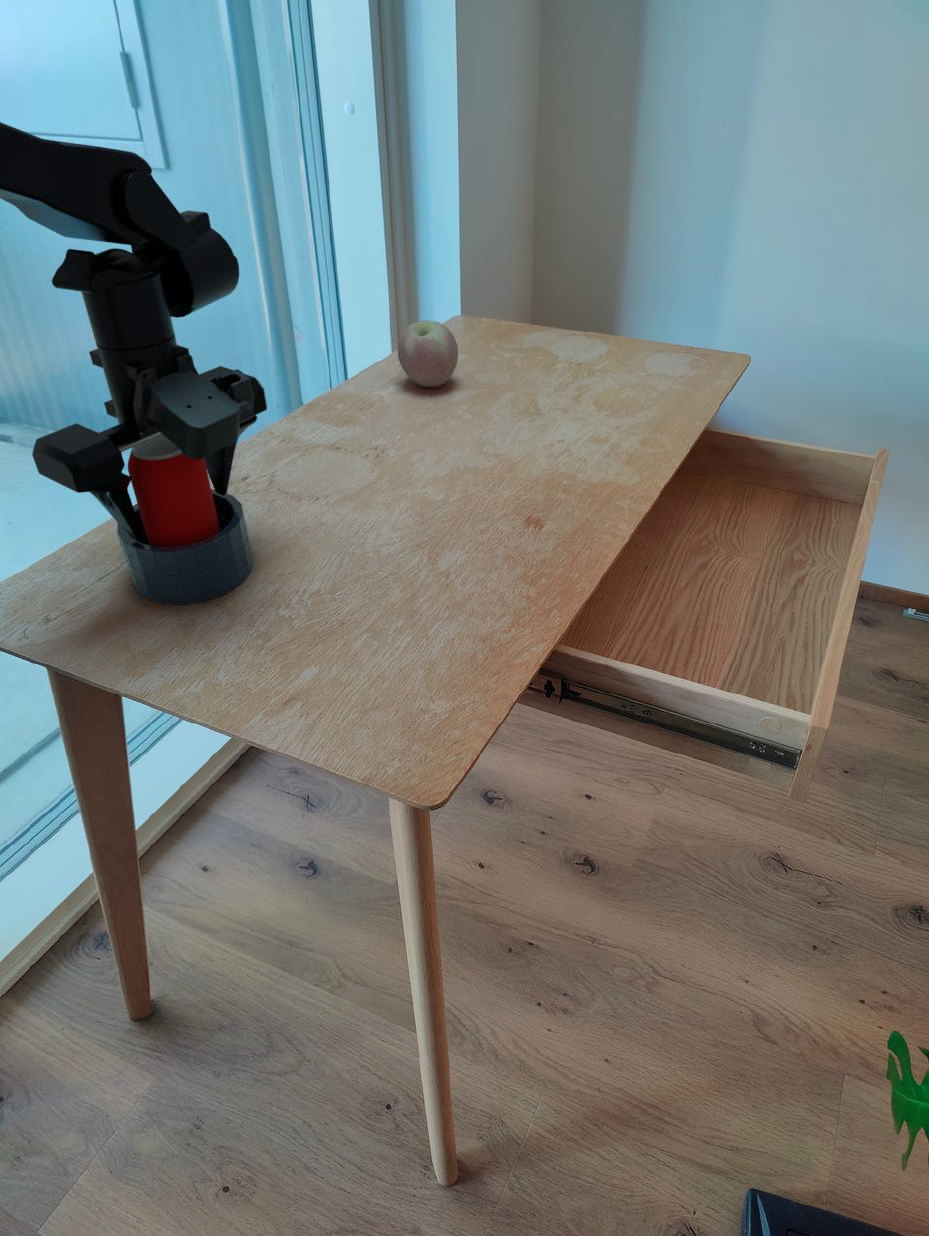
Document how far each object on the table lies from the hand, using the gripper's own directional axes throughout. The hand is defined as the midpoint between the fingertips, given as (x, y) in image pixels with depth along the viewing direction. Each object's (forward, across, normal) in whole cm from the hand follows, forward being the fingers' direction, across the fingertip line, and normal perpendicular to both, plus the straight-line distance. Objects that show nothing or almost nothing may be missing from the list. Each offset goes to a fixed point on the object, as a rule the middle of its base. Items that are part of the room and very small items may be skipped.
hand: (180, 515), depth 73 cm
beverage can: (+5, 0, 0) cm, 5 cm away
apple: (+6, +46, +9) cm, 47 cm away
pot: (+6, 0, 0) cm, 6 cm away
